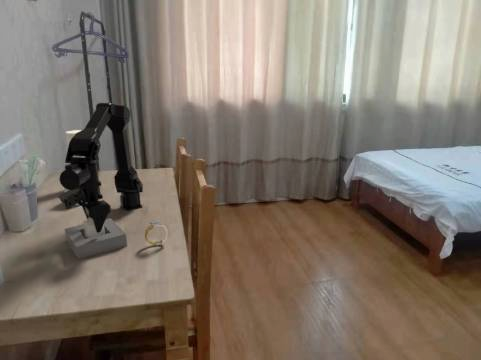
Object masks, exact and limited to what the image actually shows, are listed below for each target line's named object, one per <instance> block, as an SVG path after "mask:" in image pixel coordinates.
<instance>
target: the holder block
mask: <svg viewBox="0 0 481 360" xmlns="http://www.w3.org/2000/svg"><path fill="white" fill-rule="evenodd" d="M104 229H105V234H104V235H100V236H96V237H92V238H88V239H86V237H85V229H84V223H83V224H80V225H75V226H71V227H66V228H64V236H65V241H66V243H67V244H68V246H69V247H70V249H71V251H72V252H73V254H74V255H75V257H76V259H77V260H81V259H84V258H85V259H86V258H88V257H92V256H95V255H99V254H103V253H106V252H109V251H113V250H117V249H120V248H124V247H127V246H128V241H127V234H126V232H125V231H124V230H123V229H122V228H121V227H120V226H119V225H118V224H117V223H116V222H115V221H114V220H113V219H112V218H111V217H110V218H106V220H105V222H104Z"/></svg>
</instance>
